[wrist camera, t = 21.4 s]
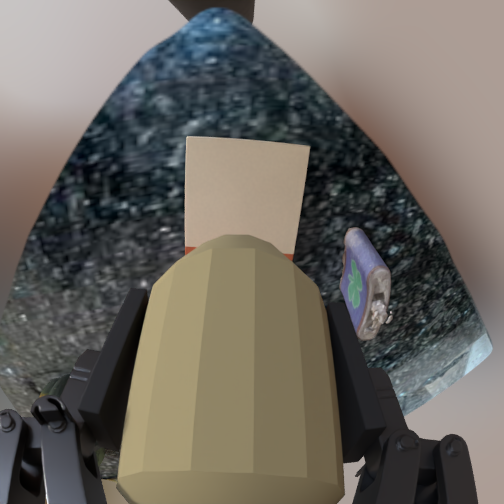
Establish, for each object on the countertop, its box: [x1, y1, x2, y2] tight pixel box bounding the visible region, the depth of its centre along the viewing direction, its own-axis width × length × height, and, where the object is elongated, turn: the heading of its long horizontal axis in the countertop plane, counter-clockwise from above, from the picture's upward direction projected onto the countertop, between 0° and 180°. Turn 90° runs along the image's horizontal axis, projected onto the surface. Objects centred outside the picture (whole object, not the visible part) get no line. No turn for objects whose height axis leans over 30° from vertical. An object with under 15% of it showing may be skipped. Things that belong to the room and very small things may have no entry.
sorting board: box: [185, 136, 310, 261], centre depth 35 cm, size 24×12×1 cm, turn 175°
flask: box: [339, 227, 392, 341], centre depth 32 cm, size 9×3×11 cm, turn 3°
